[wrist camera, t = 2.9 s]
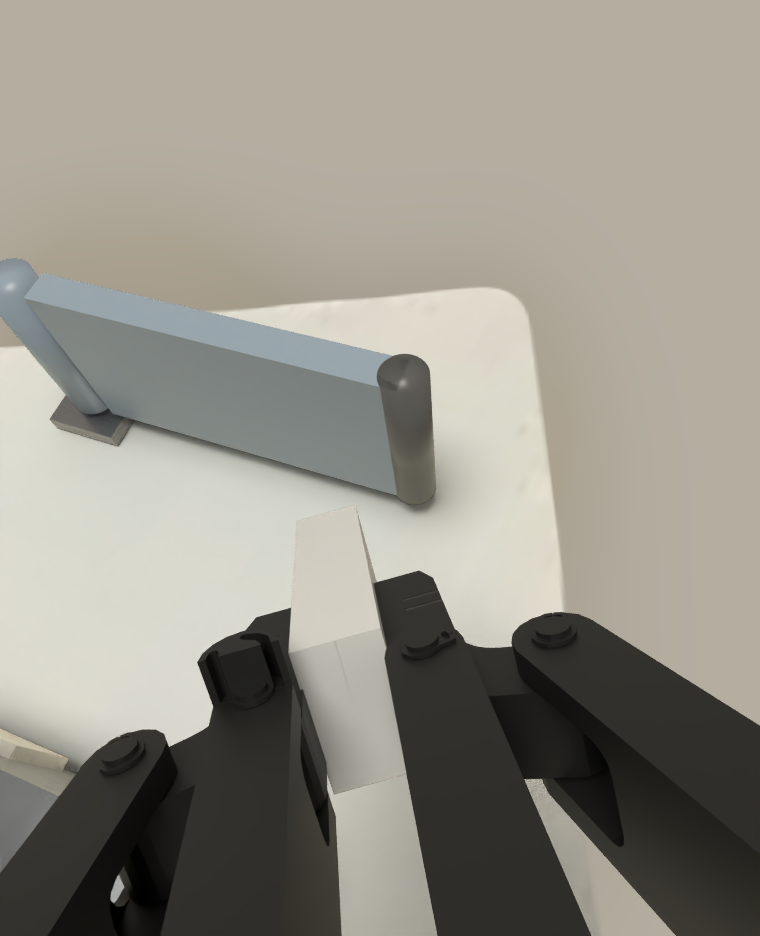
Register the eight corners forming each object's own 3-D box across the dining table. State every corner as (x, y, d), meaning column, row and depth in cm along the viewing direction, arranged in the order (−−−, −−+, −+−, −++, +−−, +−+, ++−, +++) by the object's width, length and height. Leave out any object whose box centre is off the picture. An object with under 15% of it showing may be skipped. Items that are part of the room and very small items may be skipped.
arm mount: (57, 428, 39) (49, 419, 39) (94, 372, 41) (87, 362, 40) (117, 446, 38) (110, 437, 38) (153, 388, 40) (147, 379, 39)
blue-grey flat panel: (66, 408, 39) (-33, 293, 31) (89, 373, 40) (-1, 253, 32) (427, 513, 33) (418, 407, 26) (442, 470, 34) (438, 356, 27)
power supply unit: (-150, 922, 28) (-380, 947, 21) (-24, 712, 32) (-179, 665, 24) (196, 1116, 24) (74, 1237, 17) (294, 851, 28) (233, 848, 20)
